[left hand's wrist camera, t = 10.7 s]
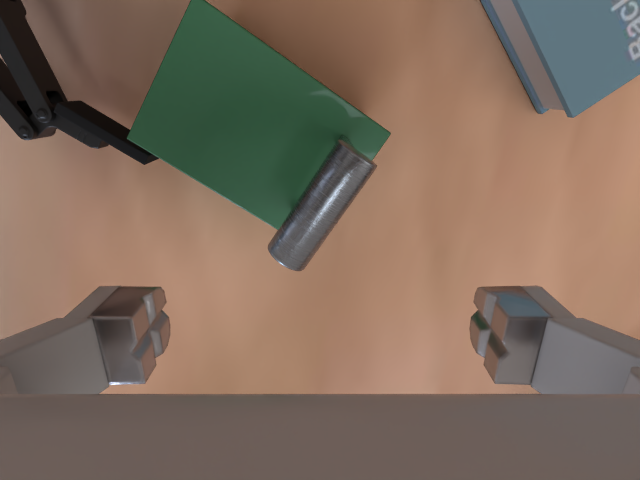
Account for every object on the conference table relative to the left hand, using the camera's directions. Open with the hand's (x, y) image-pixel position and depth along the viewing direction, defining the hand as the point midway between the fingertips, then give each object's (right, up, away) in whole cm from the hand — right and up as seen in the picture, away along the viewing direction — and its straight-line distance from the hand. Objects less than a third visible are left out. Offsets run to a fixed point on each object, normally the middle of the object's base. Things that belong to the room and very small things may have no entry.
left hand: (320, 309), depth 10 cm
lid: (-4, +9, +15) cm, 18 cm away
